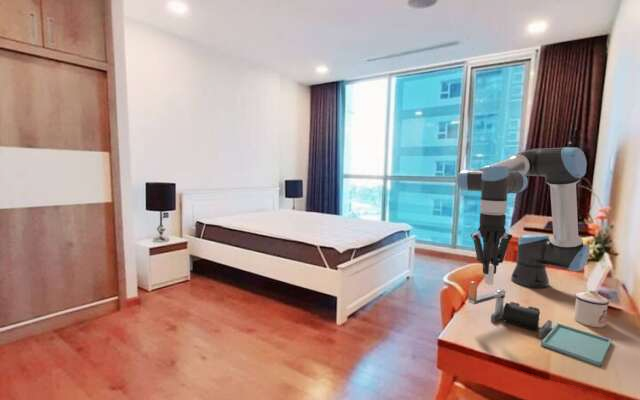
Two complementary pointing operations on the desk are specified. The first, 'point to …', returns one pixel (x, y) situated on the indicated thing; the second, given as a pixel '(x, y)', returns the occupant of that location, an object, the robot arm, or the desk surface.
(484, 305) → the desk surface
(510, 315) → the end cap
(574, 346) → the tray
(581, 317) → the teacup with lid
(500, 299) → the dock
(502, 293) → the crank handle
